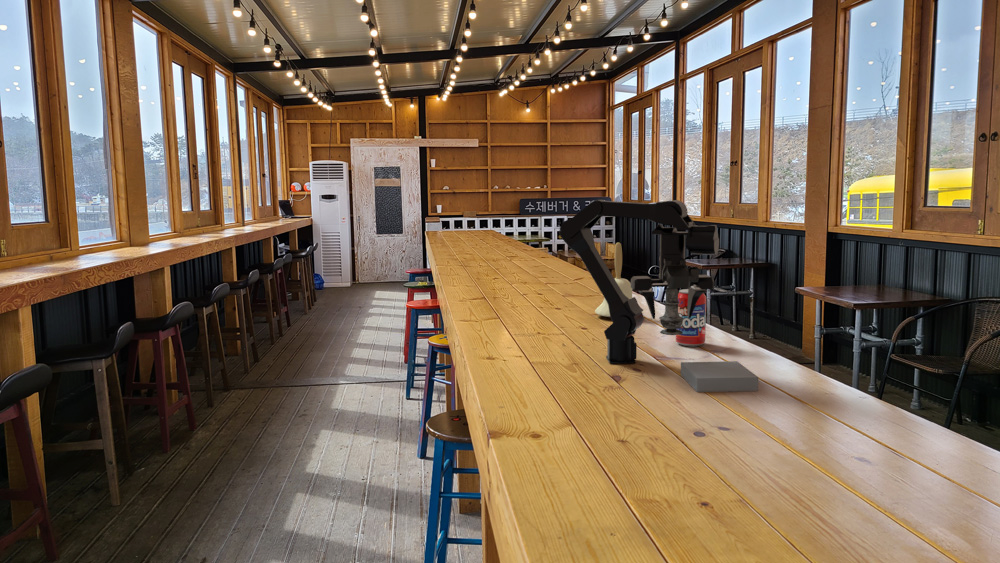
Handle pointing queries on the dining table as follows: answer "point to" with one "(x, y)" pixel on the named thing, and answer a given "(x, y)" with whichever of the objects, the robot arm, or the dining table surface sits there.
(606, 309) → the handbell
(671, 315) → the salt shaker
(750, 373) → the riser
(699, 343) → the soda can
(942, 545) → the dining table surface
